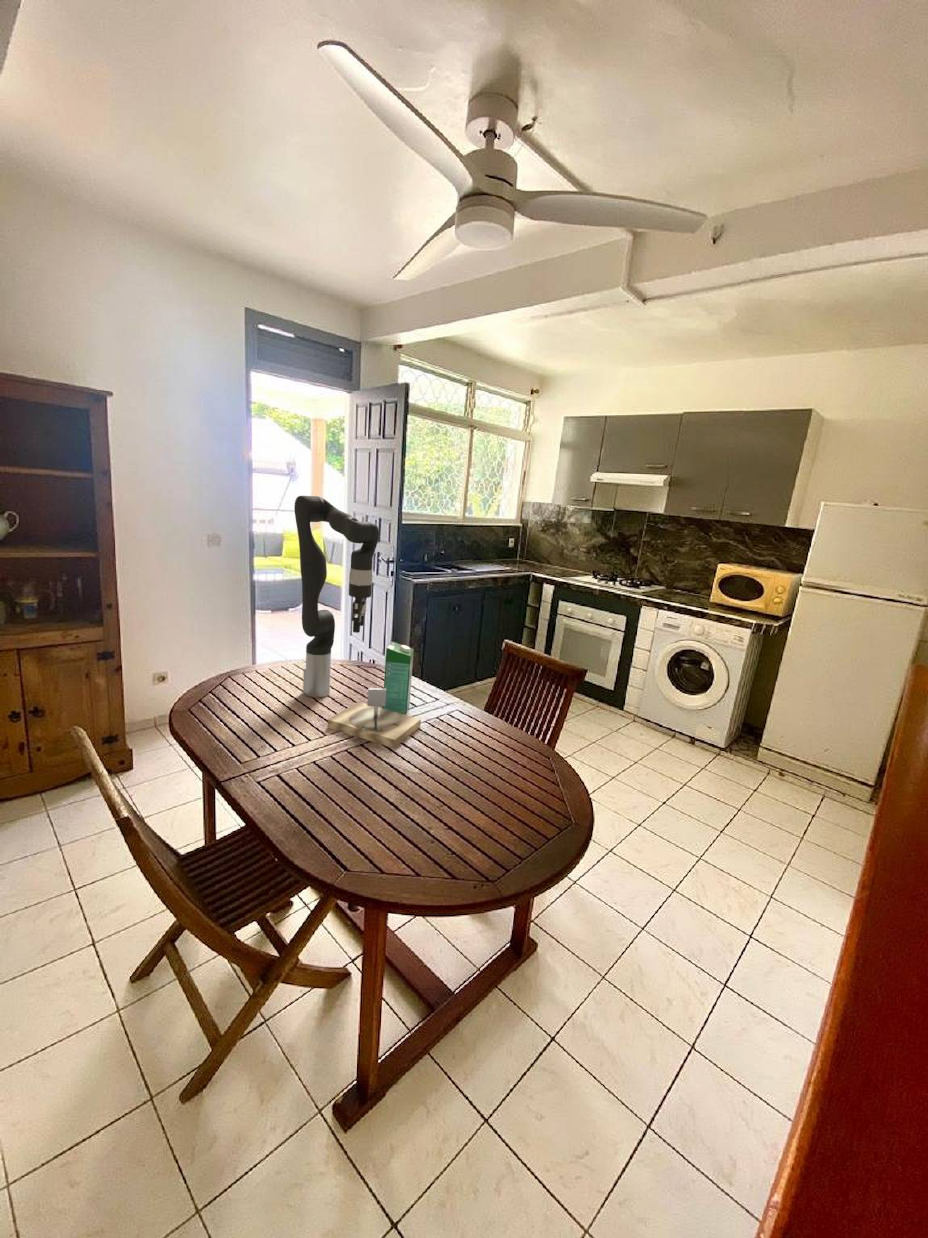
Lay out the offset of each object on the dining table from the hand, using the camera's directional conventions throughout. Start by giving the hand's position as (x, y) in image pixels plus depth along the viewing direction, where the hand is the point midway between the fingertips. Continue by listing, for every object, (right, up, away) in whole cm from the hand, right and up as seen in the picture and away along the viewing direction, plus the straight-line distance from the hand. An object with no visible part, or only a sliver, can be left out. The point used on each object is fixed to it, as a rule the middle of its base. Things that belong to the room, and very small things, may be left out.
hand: (358, 628), depth 169 cm
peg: (+6, -32, -2) cm, 33 cm away
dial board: (+5, -34, +3) cm, 35 cm away
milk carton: (+10, -31, +20) cm, 38 cm away
